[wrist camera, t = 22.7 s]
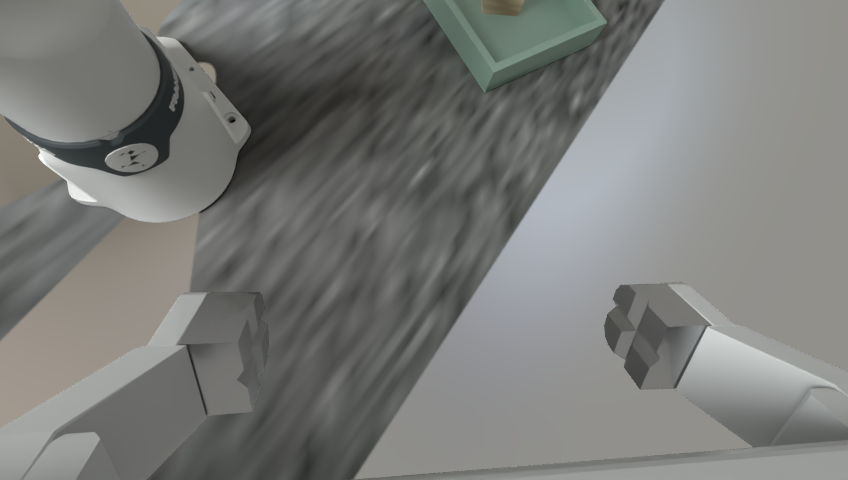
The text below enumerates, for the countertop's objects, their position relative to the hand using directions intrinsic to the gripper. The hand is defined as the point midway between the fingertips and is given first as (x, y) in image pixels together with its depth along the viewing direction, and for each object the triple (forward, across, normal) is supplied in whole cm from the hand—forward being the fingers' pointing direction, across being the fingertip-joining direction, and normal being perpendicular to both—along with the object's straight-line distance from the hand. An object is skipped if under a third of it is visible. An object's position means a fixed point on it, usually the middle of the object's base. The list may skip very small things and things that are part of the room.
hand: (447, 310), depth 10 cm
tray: (+56, -16, -7) cm, 59 cm away
